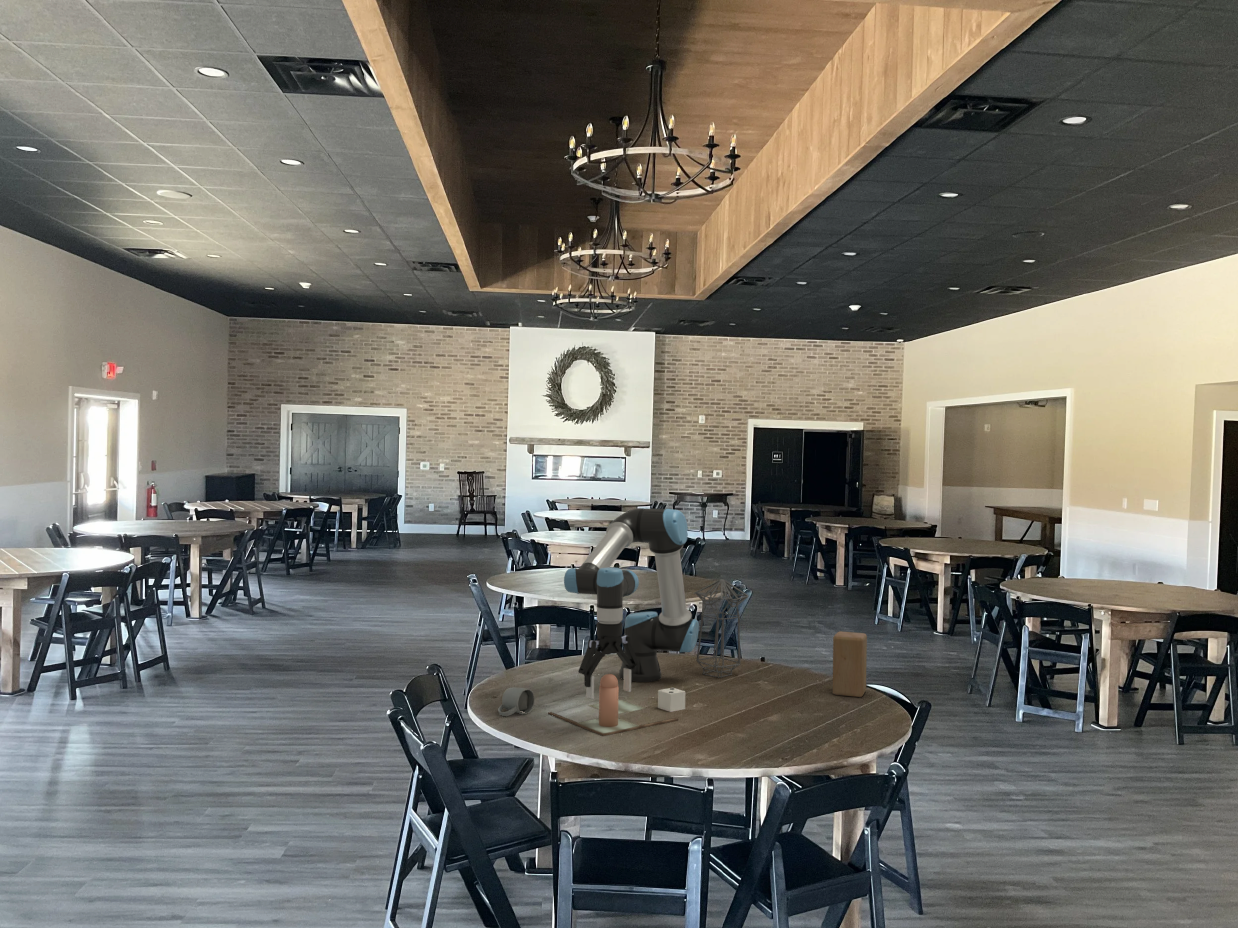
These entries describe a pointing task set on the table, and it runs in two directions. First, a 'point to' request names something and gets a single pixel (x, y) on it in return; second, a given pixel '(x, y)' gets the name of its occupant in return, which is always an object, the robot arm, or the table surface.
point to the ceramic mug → (516, 701)
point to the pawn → (608, 701)
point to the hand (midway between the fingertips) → (608, 694)
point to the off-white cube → (671, 699)
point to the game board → (622, 724)
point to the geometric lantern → (726, 585)
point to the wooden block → (849, 664)
